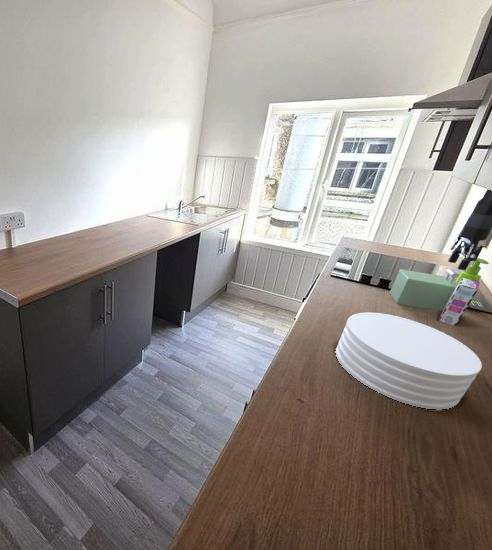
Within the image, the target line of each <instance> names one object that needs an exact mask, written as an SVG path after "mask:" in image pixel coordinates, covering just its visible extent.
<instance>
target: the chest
mask: <svg viewBox="0 0 492 550" xmlns="http://www.w3.org/2000/svg"><path fill="white" fill-rule="evenodd" d="M454 291H455V289H454V288H448V287H443V286H437V285H431V284H425V283H420V282H414V281H408V280H407V279H406V278H405V277H404V275H403V274H402V273H401V272H400V270H399V271H398V273H397V275H396V278H395V280H394V282H393V284H392V286H391V288H390V290H389V294H390V296H391V297H392V298H393V301H395V303H396V304H397V305H402V306H407V307H413V308H416V309H417V308H418V309H422V310H429V309H430V310H434V311H440V312H442V311H443V310H444V308H445V306H446V304H447V303H448V301H449V299H450V297H451V296H452V294H453V292H454Z"/></svg>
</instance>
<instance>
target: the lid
mask: <svg viewBox="0 0 492 550" xmlns="http://www.w3.org/2000/svg"><path fill="white" fill-rule="evenodd" d="M399 271H400V272H401V273H402V274H403V275H404V277H405V278H406V279H407V280H408V281H414V282H420V283H425V284H431V285H437V286H443V287H448V288H454V289H456V287H457V285H458V283H456V280H455V279H457V278H458V276H459V273H458V272H456V271H455V270H453V269H452V268H448V269H446V276H445V275H440V274H439V275H438V274H432V273H427V272H421V271H413V270H408V269H402V268H399Z"/></svg>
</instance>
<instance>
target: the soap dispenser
mask: <svg viewBox="0 0 492 550" xmlns="http://www.w3.org/2000/svg"><path fill="white" fill-rule="evenodd" d="M481 264H483V265H489V264H490V263H489V261H487V260H486V259H483V258H481V257H478V258H477V260H476V261H473V264H469V265H468V267H467V269H466V270H465V271H460V273H458V275H459V276H458V277H457V278H456V280H455V282H456V283H458V284H459V282H460V280H461V279H462V278H466V279H470V280H474V281H478V282H480V280H481V278H482V276H481V275H480V274H479V273H480V271H481V269H482V267H481V266H480V265H481Z"/></svg>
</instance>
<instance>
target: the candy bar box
mask: <svg viewBox="0 0 492 550" xmlns="http://www.w3.org/2000/svg"><path fill="white" fill-rule="evenodd" d="M480 283H481V282H480V281H474V280H470V279H466V278H462V279H461V280H460V282H459V284H458V285H457V287H456V289H455V291H454V292H453V294H452V296H451V297H450V299H449V301H448V303H447V304H446V306H445V308H444V310H443V311H441V314H440V315H439V318H438V321H437V324H439V322H442V323H444V324H447V325H451V326H454V327H456V326H457V325H458V324H459V322H460V320H461V318H462V317H463V315H464V314H465V312H466V311H467V309H468V307H469V306H470V304H471V303H472V301H473V299H474V298H475V296H476V294H477V293H478V292H479V288H480Z"/></svg>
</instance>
